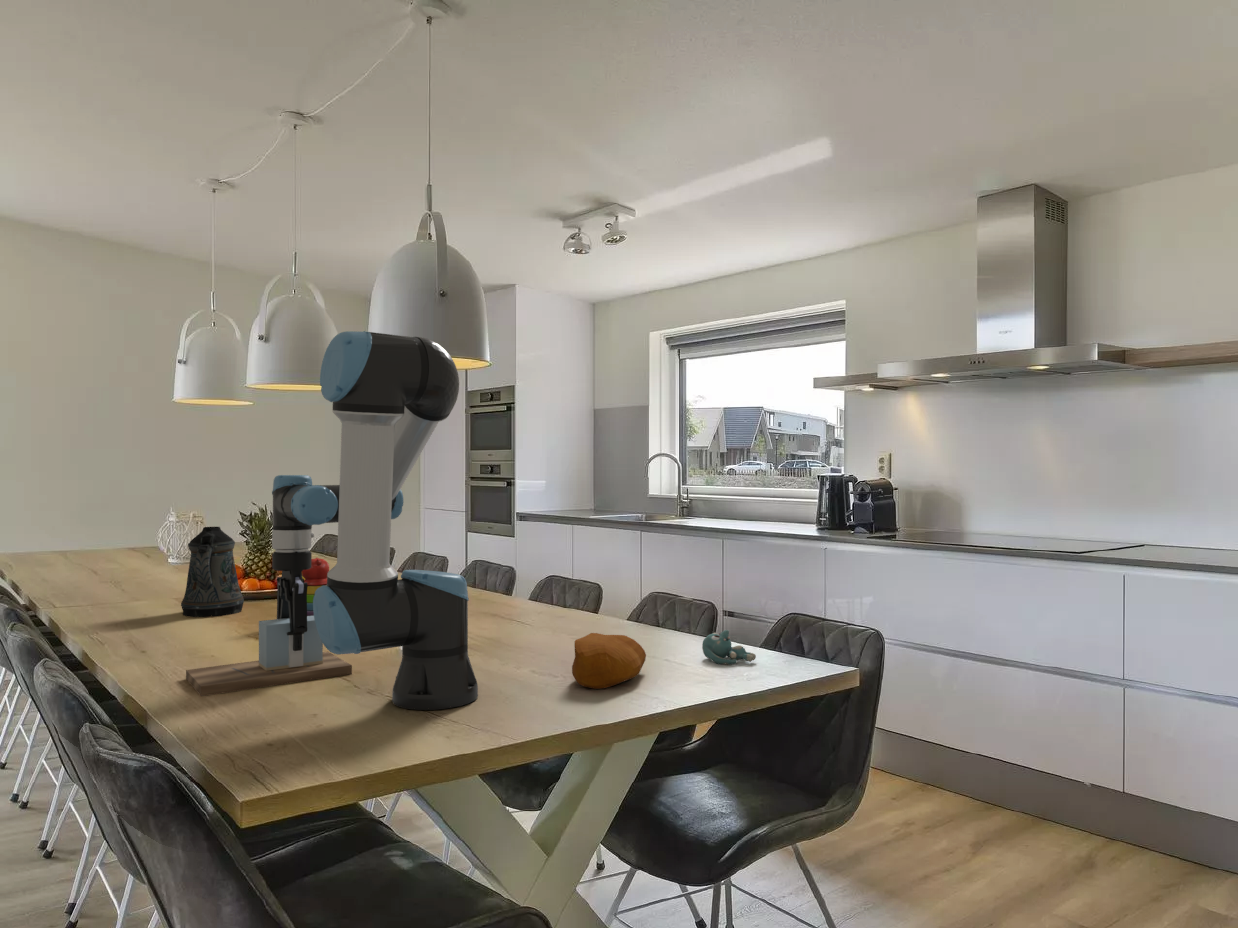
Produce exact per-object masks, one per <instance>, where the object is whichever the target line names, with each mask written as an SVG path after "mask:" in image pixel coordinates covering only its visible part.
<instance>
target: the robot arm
mask: <svg viewBox="0 0 1238 928" xmlns="http://www.w3.org/2000/svg"><path fill="white" fill-rule="evenodd" d="M319 385H320V386H321V389H320V391H321V395H322V397H323V398H324V399H325V400H326V401H328V402H330V403H332V413H333V414H334V415H335V416H336V417H337V418H338V419H339V420H340V422H341V433H340V437H341V438H340V459H339V462H340V465H339V484H323V485H321V484H320V485H319V484H315V485H314V484H313V479H312V477H311V476H310V475H308V474H307V475H306V474H304V475H303V474H279V475H276V476H274V478H273V483H272V490H271V495H272V529H271V531H272V533H271V537H272V538H271V548H272V549H273V550H274V551H273V553H272V555H271V558H272V561H271V562H272V563H271V567H272V570H273V571H276V572H281V576H277V578H276V584H277V585H276V587H277V596H276V597H277V598H276V619H284V618H289V619H290V632H287V635H289V658H288V667H289V668H290V667H298V666H303V642H304V632H307V587H308V584H307V583H304V580H305V578H304V577H303V576H302V570H307V569H310V568H311V559H313V557H312V554H313V553H312V552H311V550H309V549H311V548H312V538H314V537H315V534H314V533H313V532H312V528H313V525H314V526H319V525H324V524H332V523H335V524H336V523H338V524H337V555H336V557H337V558H336V564H335V565H334V566H333V567H332V568H331V569H329V572H328V573H327V586H326V585H323V586H321V587H319V588H317V590H316V591H315V596H314V598H313V612H314V619H315V624H316V628H317V631H318V634H319V636H320V639H321V641H322V643H323V646H324V647H325V649H326V650H328V652H329V653H331V654H333V655H348V654H354V655H357V654H359V655H360V654H361V653H365V652H371V651H379V650H385V649H394V648H399V647H400V648H402V651H401V652H402V655H401V656H402V657H401V661H400V664H399V667H398V671H397V674H396V677H395V681H394V683H393V687H392V691H391V692H392V695H391V697H392V704H393V705H395V706H396V707H399V708H402V709H408V710H419V711H420V710H421V711H432V710H433V711H434V710H435V711H436V710H445V709H453V708H457V707H461V706H465V705H467V704H471V703H472V702H474V701H475V700H478V696H479V694H478V693H479V686H478V685H479V684H478V680H477V679H476V676H475V673H474V670H473V666H472V663H471V660H470V657H469V647H468V646H469V644H468V643H469V641H468V640H469V639H468V638H469V634H468V633H469V630H468V629H469V628H468V627H469V620H468V619H469V617H468V616H469V614H468V613H469V612H468V611H469V607H468V606H469V604H468V603H469V601H470V599H469V594H468V593H469V592H468V591H469V590H468V584H467V580H466V578H465V577H464V576H463V575H461V574H458V573H453V572H447V571H437V570H426V569H425V570H422V569H405V570H403V571H402V572H401V575H400V579H399V572H398V571H397V570H396V569H395V568H394V567H393V566H392V565H391V564H390V560H391V559H390V558H391V557H390V555H391V530H392V529H391V527H392V520H395V519H397V518H399V517H400V516H401V514H402V512H403V506H404V495H403V491H402V487H403V486H404V484H405V482H406V480H407V478H408V477H409V475H410V473H411V471H412V470H413V468H414V466H415V465H416V462H417V461H418V459H419V457H420V456H421V453H423V451H424V448H425V446H426V445H427V443H428V441H429V439H430V438H431V437H432V435H433V432H434V431H435V429H436V427H437V426H438V424H439V422H443V421H444V420H446V419H448V417H449V416H450V414H451V412H452V411H453V409H454V407H455V405H456V402H457V400H458V397H459V393H460V377H459V373H458V369H457V365H456V364H455V361H454V360H453V358H452V356H451V355H450V353H448V351H447V350H446V349H445V348H444V347H442V345H440V344H439V343H437V342H435V341H434V340H431V339H429V338H425V337H421V336H409V335H408V336H406V335H398V334H390V333H389V334H388V333H382V332H372V331H366V330H364V331H349V330H348V331H342V332H340V333H337V334H336V335H335V336H334V337H333V338H332V339H331V340H330V342H329V344H328V346H327V348H326V349H325V351H324V355H323V358H322V363H321V367H320V375H319ZM298 626H300V627H298Z"/></svg>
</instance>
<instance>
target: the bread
mask: <svg viewBox="0 0 1238 928" xmlns="http://www.w3.org/2000/svg"><path fill="white" fill-rule="evenodd" d="M646 658H647V653H646V652H645V649H644V648H643V647H642V645H641V644H640V643H639V642H637V641H636V640H635V639H633V638H631V637H629V636H627V635H624V634H604V633H598V632H590V633H589V634H586V635H585V636H583V637H580V638H577V639H575V641H574V659H573V662H572V665H571V673H572V674H571V675H572V676H573V678H574V680H575V681H576V682H577V684H579V685H580V686H582V687H584V688H589V689H596V690H600V689H606V688H610V687H613V686H616V685H619V684H622V683H623V682H626V681H628V680H632V679H634V678H635V677H637V676H638V675H639V674H640V672H641V670H642V668H643V666H644V664H645V662H646Z"/></svg>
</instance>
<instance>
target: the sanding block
mask: <svg viewBox="0 0 1238 928" xmlns="http://www.w3.org/2000/svg"><path fill="white" fill-rule="evenodd" d="M298 627H300V626H298ZM287 632H290V619H289V618H284V619H277V618H274V619H268V620H267V619H266V620H258V661H259V662H258V665H259V666H260V667H262V668H263V669H264V670H266V671H269V670H277V669H285V668H289V667H288V658H289V635H287ZM323 646H324V644H323V643H322V641H321V639H320V636H319V634H318V631H317V628H316V624H315V619H314V616H307V632H304V642H303V666H307V665H315V664H322V663H323V652H324V650H323V648H324V647H323ZM298 667H300V666H298ZM290 668H292V667H290Z"/></svg>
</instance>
